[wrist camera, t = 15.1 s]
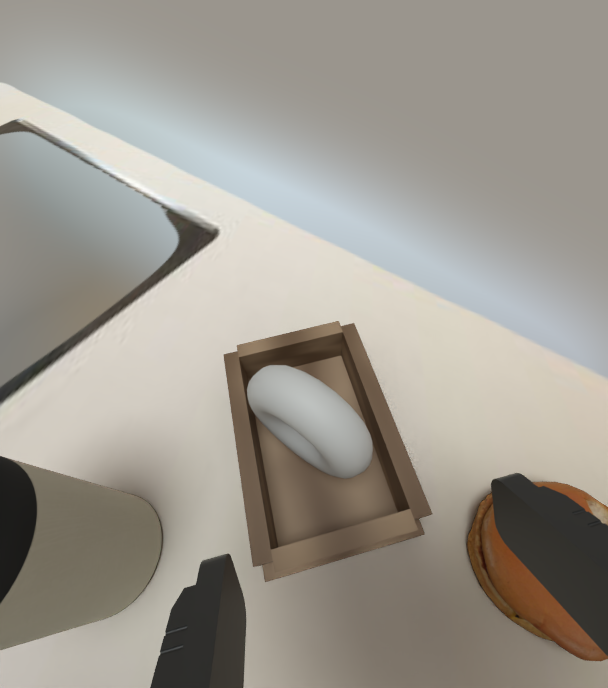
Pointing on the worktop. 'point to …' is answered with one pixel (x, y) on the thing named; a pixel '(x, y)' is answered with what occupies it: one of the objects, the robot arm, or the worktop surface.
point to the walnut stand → (306, 480)
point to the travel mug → (68, 551)
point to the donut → (311, 420)
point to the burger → (528, 579)
